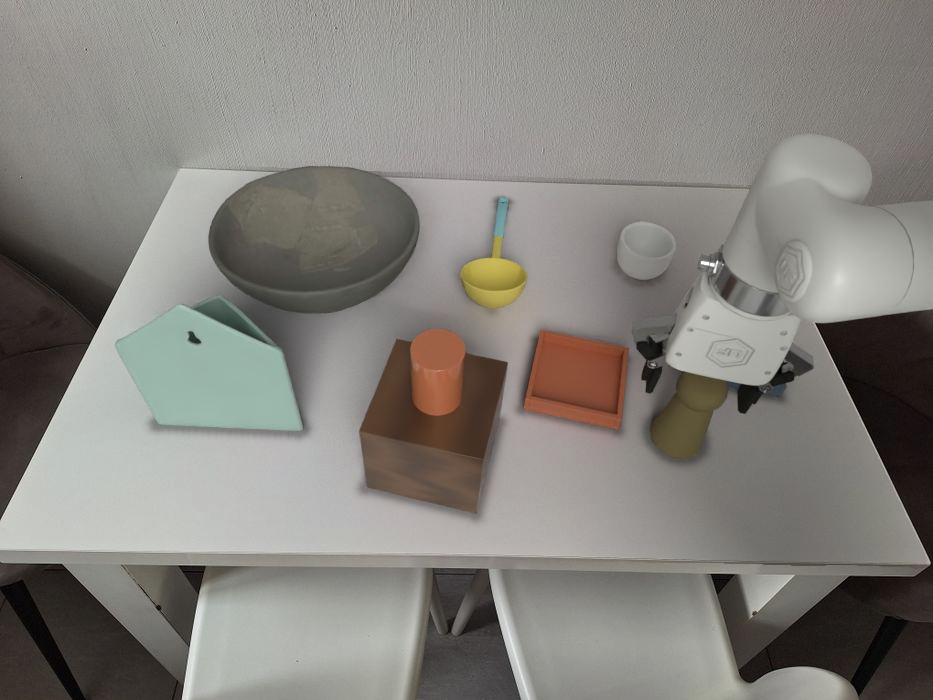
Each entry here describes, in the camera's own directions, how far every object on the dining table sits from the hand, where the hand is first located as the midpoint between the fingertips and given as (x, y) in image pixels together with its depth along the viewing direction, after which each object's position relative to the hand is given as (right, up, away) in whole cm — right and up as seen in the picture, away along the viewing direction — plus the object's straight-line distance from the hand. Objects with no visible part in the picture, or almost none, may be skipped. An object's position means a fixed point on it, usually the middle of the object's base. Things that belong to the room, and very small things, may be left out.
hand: (694, 392), depth 69 cm
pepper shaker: (0, -6, +6) cm, 9 cm away
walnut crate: (-28, -7, +3) cm, 29 cm away
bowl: (-44, +14, +21) cm, 50 cm away
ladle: (-20, +18, +25) cm, 37 cm away
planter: (-51, -1, +7) cm, 51 cm away
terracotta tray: (-11, +1, +11) cm, 15 cm away
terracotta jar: (-27, 0, -5) cm, 28 cm away
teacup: (0, +17, +25) cm, 30 cm away
